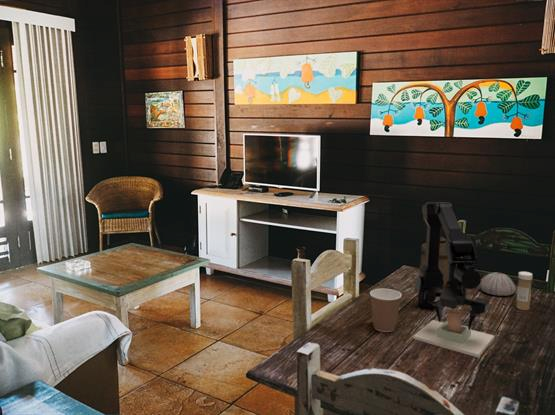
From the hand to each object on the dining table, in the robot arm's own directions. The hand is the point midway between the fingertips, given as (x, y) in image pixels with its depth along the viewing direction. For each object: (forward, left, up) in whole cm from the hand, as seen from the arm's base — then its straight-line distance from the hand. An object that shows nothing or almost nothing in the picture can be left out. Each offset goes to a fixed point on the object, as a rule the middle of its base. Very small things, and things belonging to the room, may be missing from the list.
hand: (454, 325), depth 154 cm
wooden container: (-21, +42, -5) cm, 47 cm away
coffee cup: (-21, -6, -5) cm, 22 cm away
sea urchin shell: (-1, +53, -5) cm, 53 cm away
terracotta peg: (0, 0, -4) cm, 4 cm away
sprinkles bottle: (+11, +41, -5) cm, 43 cm away
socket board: (0, 0, -4) cm, 4 cm away
